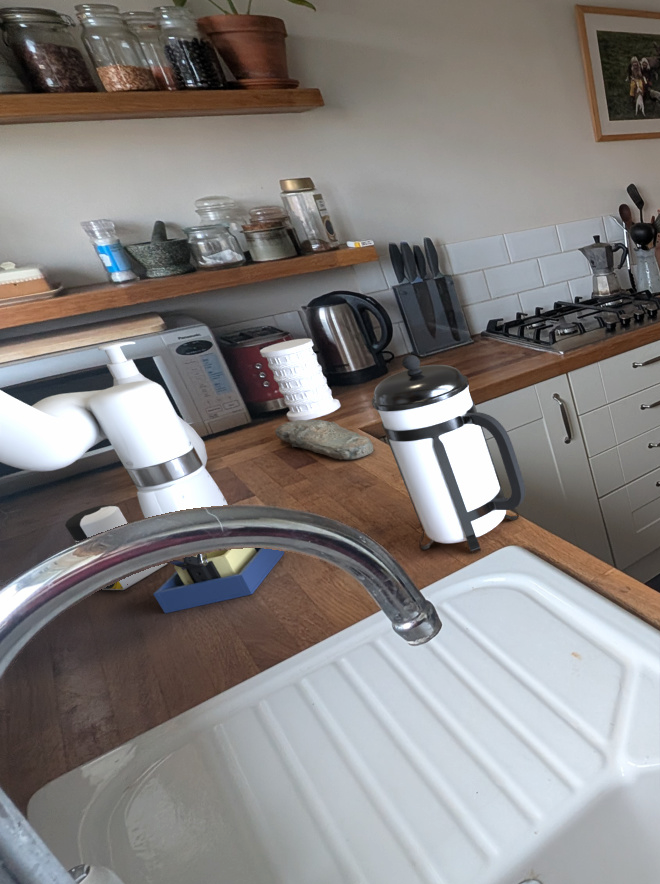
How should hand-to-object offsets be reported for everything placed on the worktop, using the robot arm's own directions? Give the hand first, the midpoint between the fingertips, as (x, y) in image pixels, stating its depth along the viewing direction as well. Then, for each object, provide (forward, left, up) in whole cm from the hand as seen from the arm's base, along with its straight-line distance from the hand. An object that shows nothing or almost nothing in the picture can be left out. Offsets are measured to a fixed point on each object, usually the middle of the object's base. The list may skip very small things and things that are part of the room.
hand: (223, 571), depth 102 cm
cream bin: (0, 0, -1) cm, 1 cm away
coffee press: (+37, -2, -2) cm, 37 cm away
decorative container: (-17, +83, -2) cm, 85 cm away
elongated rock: (-5, +55, -2) cm, 55 cm away
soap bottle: (-32, +52, -2) cm, 61 cm away
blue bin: (0, 0, -2) cm, 2 cm away
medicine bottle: (-18, +9, -2) cm, 20 cm away
